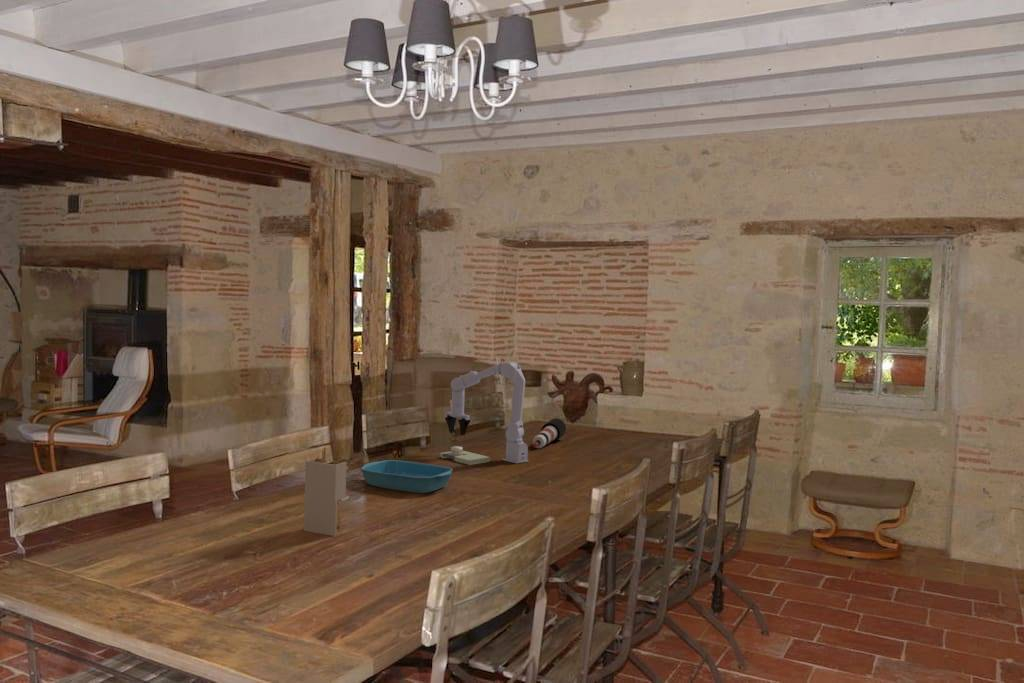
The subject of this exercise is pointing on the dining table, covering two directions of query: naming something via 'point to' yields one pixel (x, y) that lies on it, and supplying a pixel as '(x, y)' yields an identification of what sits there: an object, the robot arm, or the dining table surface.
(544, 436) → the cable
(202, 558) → the dining table surface
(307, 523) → the tall grey upright box
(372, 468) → the casserole dish
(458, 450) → the white round knob
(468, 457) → the pale green panel
